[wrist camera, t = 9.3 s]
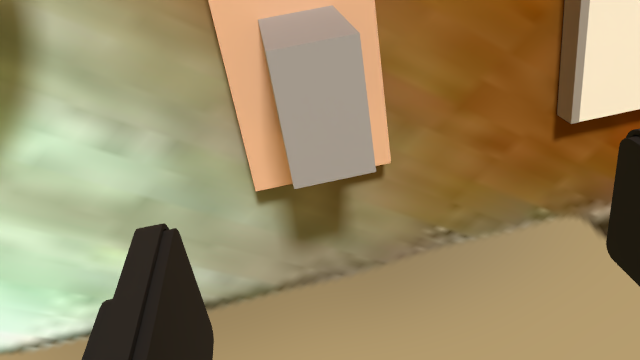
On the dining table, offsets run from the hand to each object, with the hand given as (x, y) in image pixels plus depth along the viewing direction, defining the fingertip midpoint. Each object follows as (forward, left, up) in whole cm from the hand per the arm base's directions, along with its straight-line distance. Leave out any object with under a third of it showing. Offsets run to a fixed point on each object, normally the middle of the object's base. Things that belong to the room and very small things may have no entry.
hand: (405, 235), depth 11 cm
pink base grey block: (+1, 0, -14) cm, 14 cm away
